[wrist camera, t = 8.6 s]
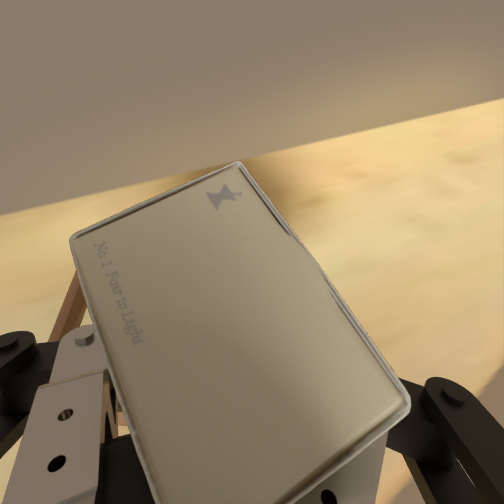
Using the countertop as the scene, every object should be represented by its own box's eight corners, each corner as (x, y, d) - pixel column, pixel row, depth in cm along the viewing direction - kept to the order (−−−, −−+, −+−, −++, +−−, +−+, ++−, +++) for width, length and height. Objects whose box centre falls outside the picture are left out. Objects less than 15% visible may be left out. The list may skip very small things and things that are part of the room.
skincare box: (187, 320, 17) (53, 229, 5) (247, 287, 17) (238, 148, 6) (234, 420, 14) (167, 613, 3) (300, 376, 15) (428, 407, 4)
